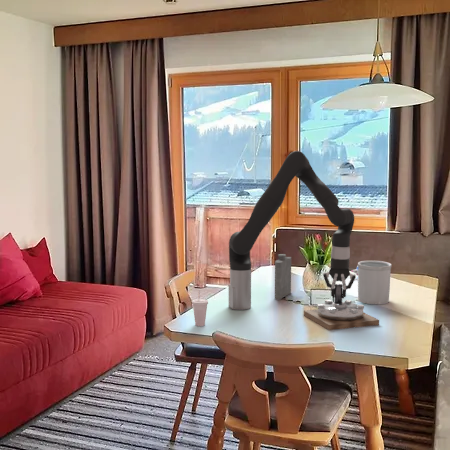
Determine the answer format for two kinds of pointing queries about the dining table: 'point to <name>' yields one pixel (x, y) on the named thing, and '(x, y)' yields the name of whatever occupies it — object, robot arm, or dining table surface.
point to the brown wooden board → (340, 321)
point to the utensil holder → (374, 282)
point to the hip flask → (282, 276)
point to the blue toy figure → (355, 270)
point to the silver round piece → (340, 307)
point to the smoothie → (200, 310)
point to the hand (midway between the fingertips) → (338, 297)
